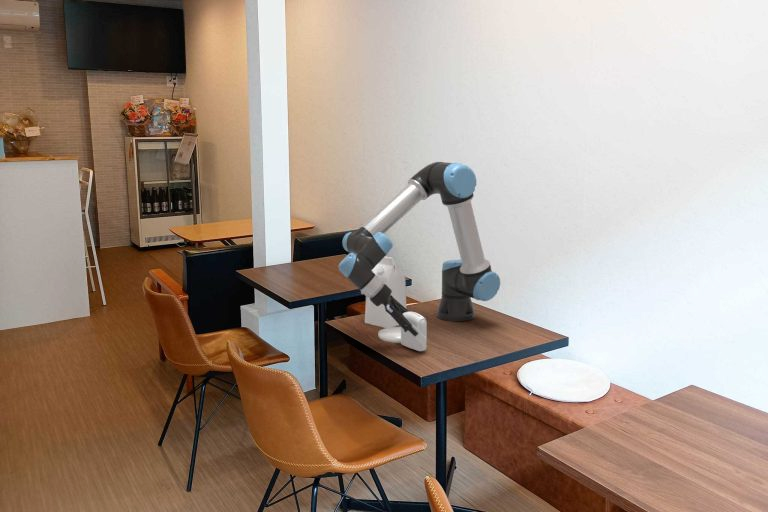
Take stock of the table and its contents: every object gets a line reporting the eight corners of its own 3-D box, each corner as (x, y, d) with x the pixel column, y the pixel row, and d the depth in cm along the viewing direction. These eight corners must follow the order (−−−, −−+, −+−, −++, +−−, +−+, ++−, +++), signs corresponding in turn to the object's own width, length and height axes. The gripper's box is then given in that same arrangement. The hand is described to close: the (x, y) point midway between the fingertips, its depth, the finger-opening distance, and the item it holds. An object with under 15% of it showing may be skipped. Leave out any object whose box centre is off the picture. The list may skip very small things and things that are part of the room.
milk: (407, 321, 257) (407, 256, 252) (388, 328, 248) (389, 261, 243) (383, 316, 264) (383, 252, 259) (364, 322, 256) (364, 257, 250)
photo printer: (399, 344, 228) (399, 310, 226) (408, 342, 231) (408, 308, 228) (418, 352, 220) (419, 317, 218) (428, 350, 223) (428, 315, 221)
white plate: (418, 330, 247) (418, 327, 247) (420, 343, 232) (420, 340, 232) (378, 329, 247) (378, 326, 247) (377, 342, 232) (377, 339, 232)
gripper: (370, 290, 233) (414, 333, 236) (367, 307, 212) (415, 354, 215) (384, 275, 232) (429, 319, 235) (383, 291, 210) (432, 339, 213)
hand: (422, 336), depth 225 cm, fingers closed on photo printer, 9 cm apart
